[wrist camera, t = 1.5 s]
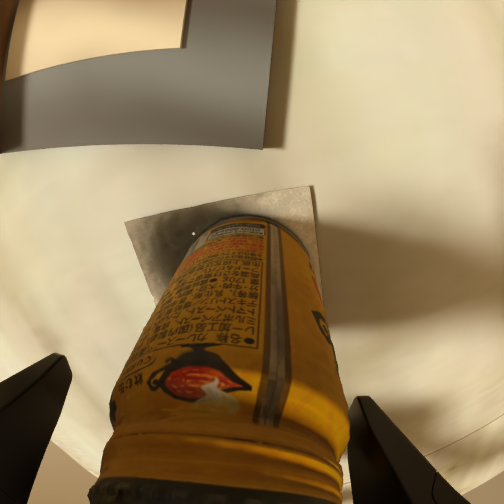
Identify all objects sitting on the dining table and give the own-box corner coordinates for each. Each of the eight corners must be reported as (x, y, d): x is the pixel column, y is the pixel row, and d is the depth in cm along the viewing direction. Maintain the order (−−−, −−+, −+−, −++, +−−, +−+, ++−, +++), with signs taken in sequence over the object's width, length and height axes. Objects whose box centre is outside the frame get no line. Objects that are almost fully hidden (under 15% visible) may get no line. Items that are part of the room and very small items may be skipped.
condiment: (324, 324, 15) (365, 559, 5) (172, 341, 17) (101, 542, 6) (308, 184, 13) (451, 473, 2) (126, 219, 14) (-65, 410, 3)
